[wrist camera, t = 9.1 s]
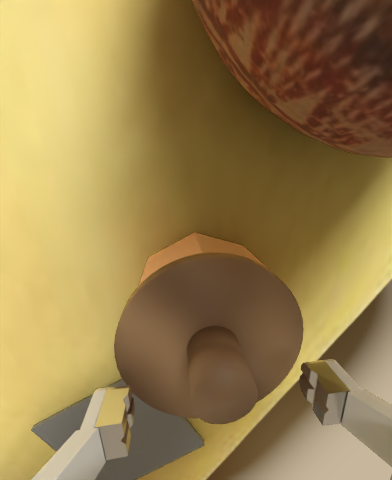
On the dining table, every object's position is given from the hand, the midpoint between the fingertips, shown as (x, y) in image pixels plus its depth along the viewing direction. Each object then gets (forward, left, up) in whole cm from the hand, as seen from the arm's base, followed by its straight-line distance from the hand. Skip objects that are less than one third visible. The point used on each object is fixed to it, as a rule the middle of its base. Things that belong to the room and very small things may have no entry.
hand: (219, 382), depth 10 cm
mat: (-14, -10, -8) cm, 19 cm away
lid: (0, 0, -3) cm, 3 cm away
